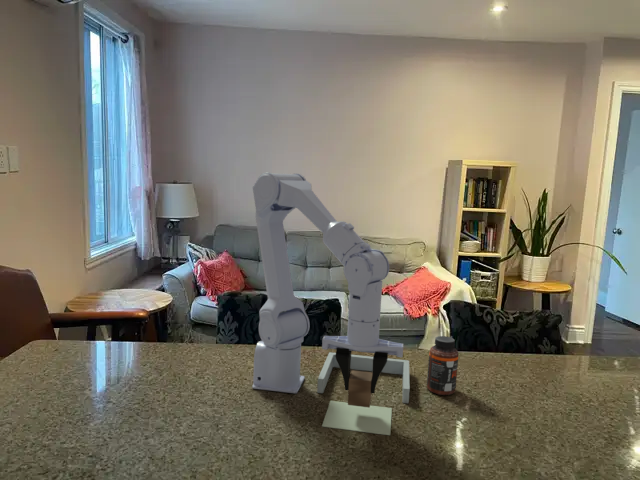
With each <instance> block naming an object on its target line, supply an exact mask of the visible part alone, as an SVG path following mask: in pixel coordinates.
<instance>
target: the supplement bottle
mask: <svg viewBox="0 0 640 480" xmlns="http://www.w3.org/2000/svg"><path fill="white" fill-rule="evenodd" d="M455 346H456V340H455V339H454V338H452V337H451V336H447V335H446V336H445V335H438V336H436V337H435V338H434V345H432V346H431V347H430V349H429V352H428V364H427V365H428V366H427V379H426V388H427V390H428V391H430V392H431V393H433V394H436V395H440V396H450V395H452V394H454V393H455V392H456V389H457V380H458V379H457V377H458V364H459V351H458V350H457V349H456V348H455Z"/></svg>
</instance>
